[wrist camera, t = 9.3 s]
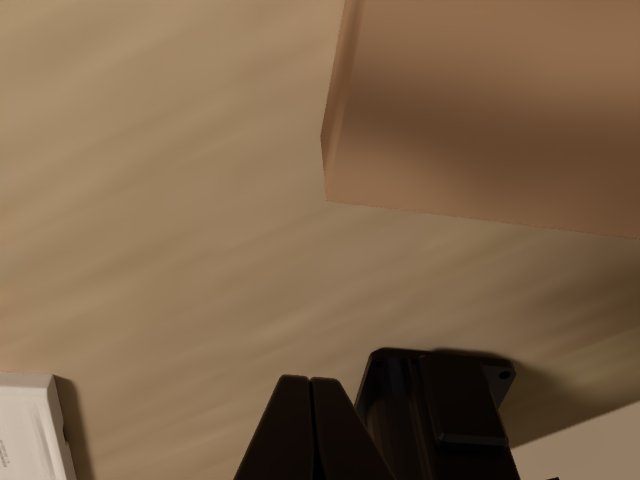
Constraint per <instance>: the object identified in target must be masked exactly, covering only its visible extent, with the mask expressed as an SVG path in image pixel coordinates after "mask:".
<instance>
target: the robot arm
mask: <svg viewBox="0 0 640 480" xmlns="http://www.w3.org/2000/svg"><path fill="white" fill-rule="evenodd" d="M382 360H383V361H382ZM378 361H382V362H378ZM515 376H516V371H515V369H514V366H513V364H512V363H511V362H510V361H506V360H495V359H484V358H473V357H462V356H450V355H439V354H428V353H417V352H406V351H395V350H384V349H382V350H376V351H374V352H372V353H371V354H370V356H369V359H368V362H367V365H366V368H365V371H364V375H363V378H362V381H361V384H360V388H359V391H358V394H357V397H356V401H355V404H354V406H353V404H352V402H351V400H350V399H349V397H348V395H347V394H346V392H345V390H344V388H343V387H342V385H341V383H340V382H339V381H338V380H337V379H334V378H323V377H312V378H311V379H310V380H309V379H308V378H307V377H306V376H299V375H286V374H285V375H282V376H281V377H280V378H279V380H278V383H277V385H276V387H275V389H274V391H273V393H272V396H271V398H270V400H269V402H268V404H267V407H266V409H265V411H264V413H263V415H262V418H261V420H260V422H259V424H258V426H257V429H256V431H255V433H254V435H253V437H252V440H251V442H250V444H249V446H248V448H247V451H246V453H245V455H244V457H243V459H242V461H241V464H240V466H239V468H238V470H237V472H236V475H235V477H234V479H233V480H520V477H519V474H518V471H517V468H516V465H515V462H514V459H513V456H512V454H511V451H510V448H509V445H508V443H509V441H508V437H507V434H506V431H505V428H504V425H503V423H502V420H501V417H500V414H499V411H498V408H499V406H500V404H501V403H502V401H503V399H504V397H505V395H506V393H507V391H508V389H509V387H510V386H511V384H512V382H513V380H514V378H515ZM548 480H559V478H558V477H556V478H552V479H548Z"/></svg>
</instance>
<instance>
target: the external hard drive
mask: <svg viewBox="0 0 640 480" xmlns="http://www.w3.org/2000/svg"><path fill="white" fill-rule="evenodd" d="M63 424H64V420H63V416H62V411H61V407H60V402H59V398H58V393H57V389H56V384H55V379H54V375H53V374H33V373H10V372H0V480H77V478H76V474H75V470H74V465H73V461H72V456H71V452H70V447H69V443H68V442H66V441H65V439H64V435H63Z"/></svg>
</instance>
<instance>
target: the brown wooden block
mask: <svg viewBox="0 0 640 480" xmlns="http://www.w3.org/2000/svg"><path fill="white" fill-rule="evenodd" d="M321 147H322V157H323V168H324V178H325V189H326V199H327V201H331V202H340V203H348V204H356V205H364V206H372V207H381V208H389V209H397V210H405V211H413V212H422V213H430V214H438V215H446V216H454V217H463V218H471V219H479V220H487V221H495V222H504V223H512V224H520V225H528V226H536V227H545V228H553V229H561V230H569V231H577V232H586V233H594V234H602V235H610V236H618V237H627V238H635V239H640V0H346V1H345V6H344V11H343V17H342V22H341V28H340V33H339V39H338V44H337V49H336V55H335V60H334V66H333V71H332V76H331V82H330V87H329V93H328V98H327V104H326V109H325V114H324V120H323V125H322V131H321Z"/></svg>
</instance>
